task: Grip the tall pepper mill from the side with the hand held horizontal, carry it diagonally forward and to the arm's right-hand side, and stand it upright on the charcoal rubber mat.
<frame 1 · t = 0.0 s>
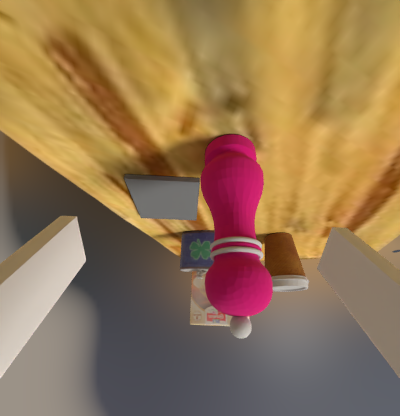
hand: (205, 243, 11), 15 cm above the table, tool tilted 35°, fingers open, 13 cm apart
pepper mill: (229, 151, 27), on the table
disposable coffee cup: (277, 236, 52), on the table
flask: (201, 231, 50), on the table
charcoal mat: (166, 198, 37), on the table
coffeecake box: (218, 253, 65), on the table
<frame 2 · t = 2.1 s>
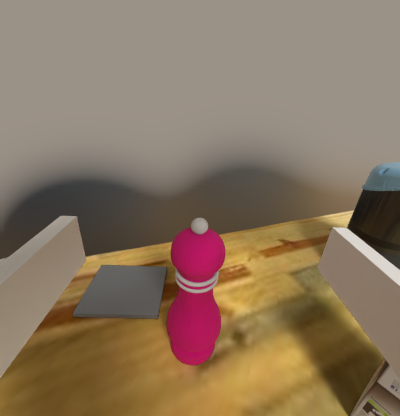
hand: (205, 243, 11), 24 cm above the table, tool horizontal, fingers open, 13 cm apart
pepper mill: (192, 342, 30), on the table
charcoal mat: (126, 290, 38), on the table
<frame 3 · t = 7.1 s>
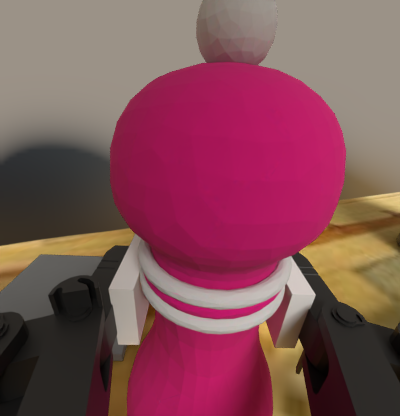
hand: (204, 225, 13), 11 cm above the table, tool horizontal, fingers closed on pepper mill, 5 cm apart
charcoal mat: (73, 298, 21), on the table
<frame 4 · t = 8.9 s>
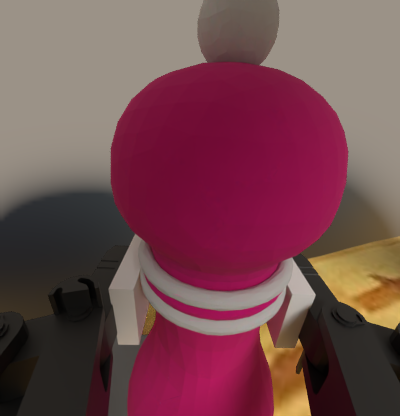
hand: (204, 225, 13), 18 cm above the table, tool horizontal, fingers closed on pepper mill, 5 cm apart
charcoal mat: (150, 398, 19), on the table
when the fingers open (13 cm above the table, at t = 11.1 s): pepper mill drops 1 cm, resting on charcoal mat.
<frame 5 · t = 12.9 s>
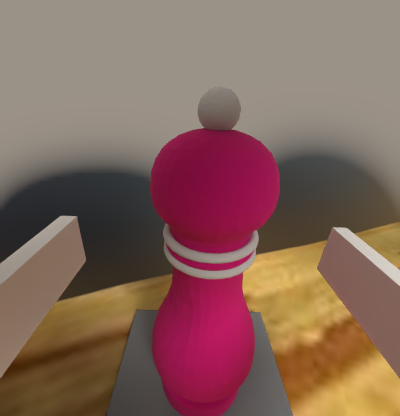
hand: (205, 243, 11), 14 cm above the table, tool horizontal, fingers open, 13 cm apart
pepper mill: (200, 371, 17), point 1 cm above the table, touching charcoal mat
charcoal mat: (199, 375, 17), on the table
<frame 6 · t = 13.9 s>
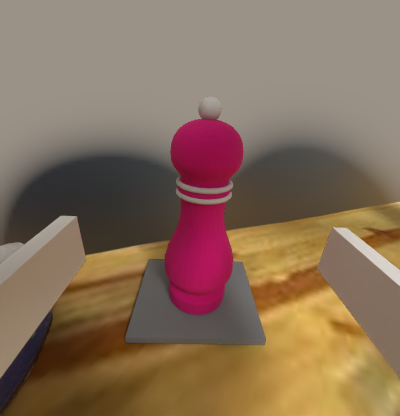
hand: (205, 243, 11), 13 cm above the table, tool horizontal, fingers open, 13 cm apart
pepper mill: (196, 293, 24), point 1 cm above the table, touching charcoal mat
flask: (19, 360, 18), on the table
charcoal mat: (195, 296, 25), on the table
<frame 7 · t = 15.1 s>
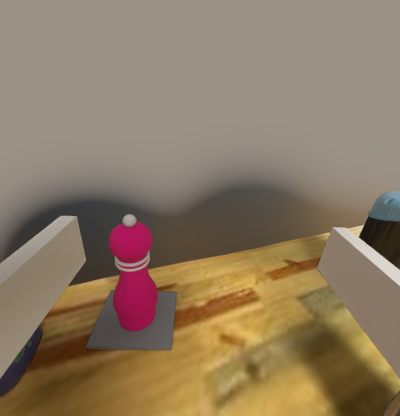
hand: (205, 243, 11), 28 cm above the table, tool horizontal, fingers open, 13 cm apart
pepper mill: (137, 316, 37), point 1 cm above the table, touching charcoal mat
flask: (22, 360, 31), on the table
charcoal mat: (137, 318, 38), on the table
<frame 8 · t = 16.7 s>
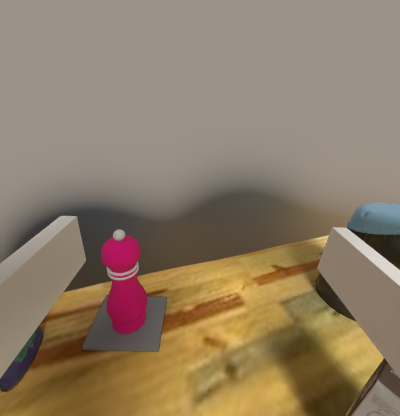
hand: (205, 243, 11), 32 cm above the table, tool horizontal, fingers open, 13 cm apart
pepper mill: (129, 319, 41), point 1 cm above the table, touching charcoal mat
flask: (25, 359, 34), on the table
charcoal mat: (129, 321, 41), on the table
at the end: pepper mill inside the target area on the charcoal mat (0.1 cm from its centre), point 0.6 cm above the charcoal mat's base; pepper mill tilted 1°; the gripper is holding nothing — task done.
